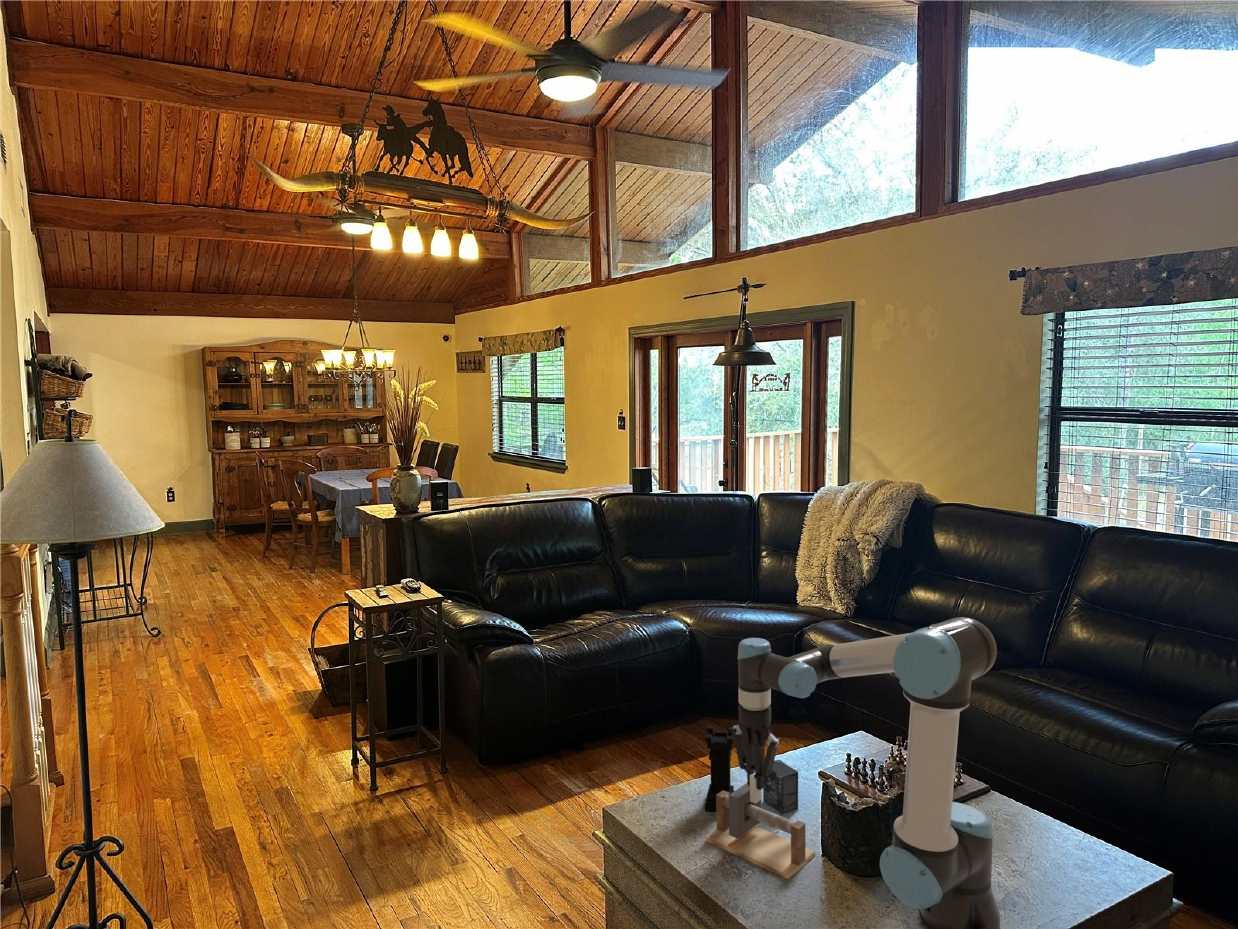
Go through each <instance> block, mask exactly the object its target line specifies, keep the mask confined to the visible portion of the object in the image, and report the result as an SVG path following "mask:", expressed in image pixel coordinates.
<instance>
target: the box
mask: <svg viewBox="0 0 1238 929" xmlns="http://www.w3.org/2000/svg"><path fill="white" fill-rule="evenodd" d="M762 793H763V794H762V796H763V798H762V799H763V800H762V801H763V802H764V803H765V804H767V805H768V806H770V807H771V808H772V809H774V811H776V812H778V813H779V815H786V814H788V813H791V812H795V811H797V810H799V770H797V769H794V768H793V767H792V766H790V765H788V764H786V763H785V762H783V761H782V760H780V759H779V758H778V759H776V760H775V759H774V764H773V768H772V773H771V774H769V775H768V776H766V777H764V788H763V789H762Z"/></svg>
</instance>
